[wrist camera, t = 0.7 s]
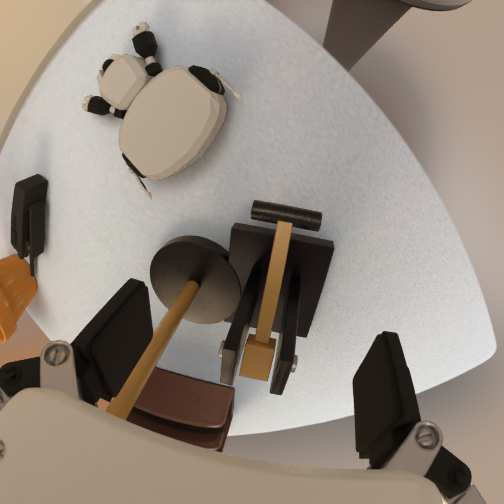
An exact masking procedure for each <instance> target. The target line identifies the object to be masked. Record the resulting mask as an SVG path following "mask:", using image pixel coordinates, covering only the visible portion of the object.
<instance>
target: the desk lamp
mask: <svg viewBox="0 0 504 504" xmlns="http://www.w3.org/2000/svg"><path fill="white" fill-rule="evenodd" d="M228 259H229V252H228V251H227V250H225V249H224V248H223V247H222V246H220V245H219V244H217V243H215V242H213V241H211V240H209V239H206V238H203V237H199V236H181V237H177V238H174V239H172V240H170V241H169V242H167V243H166V244H165V245H164V246H163V247H162V248H161V249H160V250H159V251H158V252H157V253H156V255H155V256H154V258H153V260H152V262H151V266H150V279H151V283H152V287H153V289H154V291H155V293H156V295H157V296H158V298H159V299H160V301H161V302H162V303H163V304H164V305H165V306H166V307H167V308H168V309H169V310H168V312H167V313H166V315H165V316H164V318H163V319H162V321H161V322H160V324H159V325H158V327H157V328H156V330H155V332H154V333H153V338H152V341H151V342H150V344H149V345H148V347H147V349H146V350H145V352H144V353H143V355H142V357H141V358H140V360H139V361H138V363H137V365H136V366H135V368H134V369H133V371H132V373H131V374H130V376H129V378H128V379H127V381H126V383H125V384H124V386H123V387H122V389H121V391H120V392H119V394H118V396H117V397H113V399H112V401H111V402H110V404H109V406H108V407H107V409H106V411H105V412H107V413H110V414H112V415H114V416H116V417H119V418H121V419H123V420H126V419H127V417H128V415H129V413H130V412H131V410H132V408H133V406H134V404H135V402H136V400H137V399H138V397H139V395H140V393H141V391H142V389H143V388H144V386H145V384H146V382H147V380H148V379H149V377H150V375H151V373H152V371H153V369H154V368H155V366H156V364H157V362H158V361H159V359H160V357H161V355H162V353H163V352H164V350H165V348H166V346H167V345H168V343H169V341H170V339H171V338H172V336H173V334H174V332H175V331H176V329H177V327H178V325H179V324H180V322H181V320H182V318H183V319H186V320H188V321H191V322H195V323H202V324H211V323H217V322H220V321H223V320H225V319H227V318H228V317H230V316H231V315H232V314H233V313H234V312H235V311H236V309H237V307H238V305H239V302H240V299H241V286H240V282H239V279H238V277H237V274H236V272H235V271H234V269H233V268H232V266H231V265H230V264H229V262H228Z"/></svg>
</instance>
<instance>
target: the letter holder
mask: <svg viewBox="0 0 504 504" xmlns="http://www.w3.org/2000/svg"><path fill="white" fill-rule="evenodd" d="M233 406H234V388H230V387H225V386H220V385H216V384H212V383H208V382H204V381H200V380H196V379H193V378H189V377H185V376H182V375H178V374H175V373H171V372H168V371H165V370H161V369H158V368H154V369H153V371H152V373H151V375H150V377H149V379H148V380H147V382H146V384H145V386H144V388H143V389H142V391H141V393H140V395H139V397H138V399H137V400H136V402H135V404H134V406H133V408H132V410H131V412H130V413H129V415H128V417H127V419H126V421H128V422H130V423H133V424H135V425H137V426H140V427H142V428H145V429H147V430H150V431H153V432H155V433H158V434H161V435H164V436H167V437H169V438H172V439H175V440H179V441H182V442H185V443H188V444H191V445H195V446H198V447H202V448H205V449H209V450H213V451H217V452H221V453H222V451H223V448H224V444H225V441H226V438H227V434H228V431H229V428H230V424H231V421H232V417H233Z"/></svg>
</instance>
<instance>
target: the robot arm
mask: <svg viewBox="0 0 504 504" xmlns="http://www.w3.org/2000/svg"><path fill="white" fill-rule="evenodd" d="M152 338H153V326H152V319H151V311H150V302H149V292H148V287H147V286H145V283H144V282H143V281H140V280H136V279H133V278H131V279H129V280H128V281H127V282H126V283H125V284H124V285H123V286H122V287H121V288H120V289H119V290H118V292H117V293H116V294H115V295H114V296H113V297H112V298H111V299H110V300H109V301H108V302H107V303H106V304H105V306H104V307H103V308H102V309H101V310H100V311H99V312H98V313H97V314H96V315H95V316H94V318H93V319H92V320H91V321H90V322H89V323H88V324H87V326H86V327H85V328H84V329H83V330H82V331H81V332H80V334H79V335H78V336H77V337H76V338H75V339H74V341H73V342H72V343H71V344H69V343H67V342H66V341H62V340H56V341H52V342H50V343H48V344H47V345H46V346H45V347H44V348H43V350H42V352H41V355H40V357H35V358H30V359H25V360H19V361H14V362H9V363H6V364H5V365H3V366H2V367H1V368H0V504H486V502H485V501H484V499H483V498H482V496H481V495H480V493H479V491H478V490H477V488H476V487H475V485H472V486H471V485H470V483H471V477H472V476H471V471H470V469H469V468H468V466H467V465H466V464H464V463H463V462H462V461H461V460H459V459H458V458H457V457H456V456H454V455H453V454H452V453H451V452H449V451H448V450H447V449H446V448H444V447H443V446H442V442H443V435H442V432H441V430H440V428H439V427H438V426H437V425H436V424H435V423H433V422H431V421H421V418H420V413H419V408H418V403H417V399H416V395H415V390H414V386H413V382H412V378H411V374H410V371H409V368H408V367H407V364H406V361H405V357H404V353H403V350H402V347H401V343H400V340H399V337H398V334H397V333H394V332H387V331H383V332H382V333H381V334H378V335H377V337H376V338H375V340H374V342H373V344H372V346H371V348H370V349H369V351H368V353H367V355H366V357H365V358H364V360H363V362H362V363H361V365H360V367H359V369H358V370H357V372H356V374H355V375H354V378H353V397H354V414H355V438H356V451H357V452H359V458H360V459H365V458H366V459H369V464H370V466H369V467H368V468H367V469H332V468H315V467H303V466H294V465H286V464H278V463H271V462H265V461H259V460H253V459H248V458H243V457H238V456H234V455H229V454H225V453H221V452H217V451H213V450H209V449H205V448H202V447H198V446H195V445H191V444H188V443H185V442H182V441H179V440H175V439H172V438H169V437H167V436H164V435H161V434H158V433H155V432H153V431H150V430H147V429H145V428H142V427H140V426H137V425H135V424H133V423H130V422H128V421H126V420H123V419H121V418H119V417H116V416H114V415H112V414H110V413H107V412H105V411H103V410H101V409H98V405H97V402H98V400H99V399H100V398H102V399H104V400H106V401H108V402H110V401H111V400H112V398H113V397H117V396H118V394H119V392H120V391H121V389H122V387H123V386H124V384H125V383H126V381H127V379H128V378H129V376H130V374H131V373H132V371H133V369H134V368H135V366H136V365H137V363H138V361H139V360H140V358H141V357H142V355H143V353H144V352H145V350H146V349H147V347H148V345H149V344H150V342H151V341H152Z"/></svg>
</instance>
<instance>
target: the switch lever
mask: <svg viewBox="0 0 504 504" xmlns="http://www.w3.org/2000/svg"><path fill="white" fill-rule="evenodd" d="M251 219H253V220H259V221H264V222H269V223H275V224H277V227H276V232H275V238H274V243H273V248H272V254H271V259H270V264H269V269H268V274H267V280H266V285H265V290H264V295H263V300H262V305H261V310H260V315H259V320H258V325H257V329H256V334H255V335H254V334H249V336H248V339H247V341H246V344H245V349H244V354H243V359H242V364H241V368H240V373H239V376H243V377H248V378H252V379H257V380H262V381H268V377H269V373H270V369H271V365H272V361H273V357H274V352H275V346H276V339H274V338H270V335H271V330H272V326H273V321H274V317H275V312H276V307H277V302H278V298H279V293H280V288H281V283H282V278H283V273H284V268H285V263H286V258H287V253H288V247H289V242H290V237H291V231H292V227H296V228H301V229H306V230H311V231H316V232H318V231H319V229H320V226H321V221H322V213H321V212H317V211H312V210H307V209H302V208H297V207H292V206H287V205H281V204H276V203H270V202H264V201H259V200H254V202H253V205H252V210H251Z"/></svg>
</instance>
